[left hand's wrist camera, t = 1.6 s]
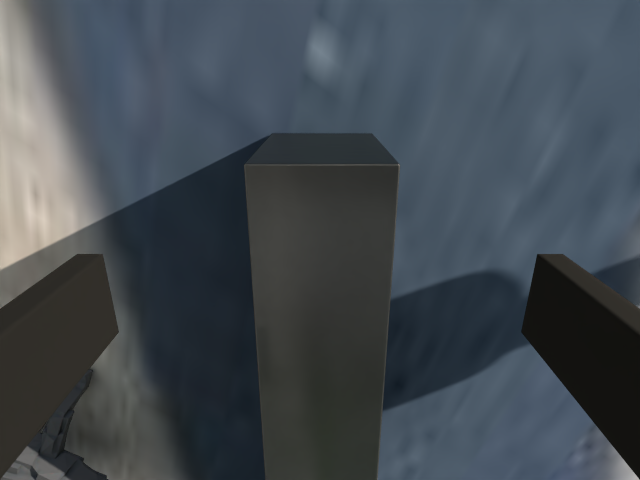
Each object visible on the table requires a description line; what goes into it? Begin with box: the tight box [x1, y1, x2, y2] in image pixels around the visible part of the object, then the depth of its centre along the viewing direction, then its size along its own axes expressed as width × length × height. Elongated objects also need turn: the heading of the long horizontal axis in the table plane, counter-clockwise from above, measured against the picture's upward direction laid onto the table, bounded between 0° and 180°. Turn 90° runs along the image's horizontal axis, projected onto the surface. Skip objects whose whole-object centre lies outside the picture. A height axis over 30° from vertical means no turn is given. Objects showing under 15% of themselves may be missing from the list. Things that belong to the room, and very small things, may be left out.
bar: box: [244, 133, 400, 480], centre depth 24 cm, size 36×5×8 cm, turn 0°
